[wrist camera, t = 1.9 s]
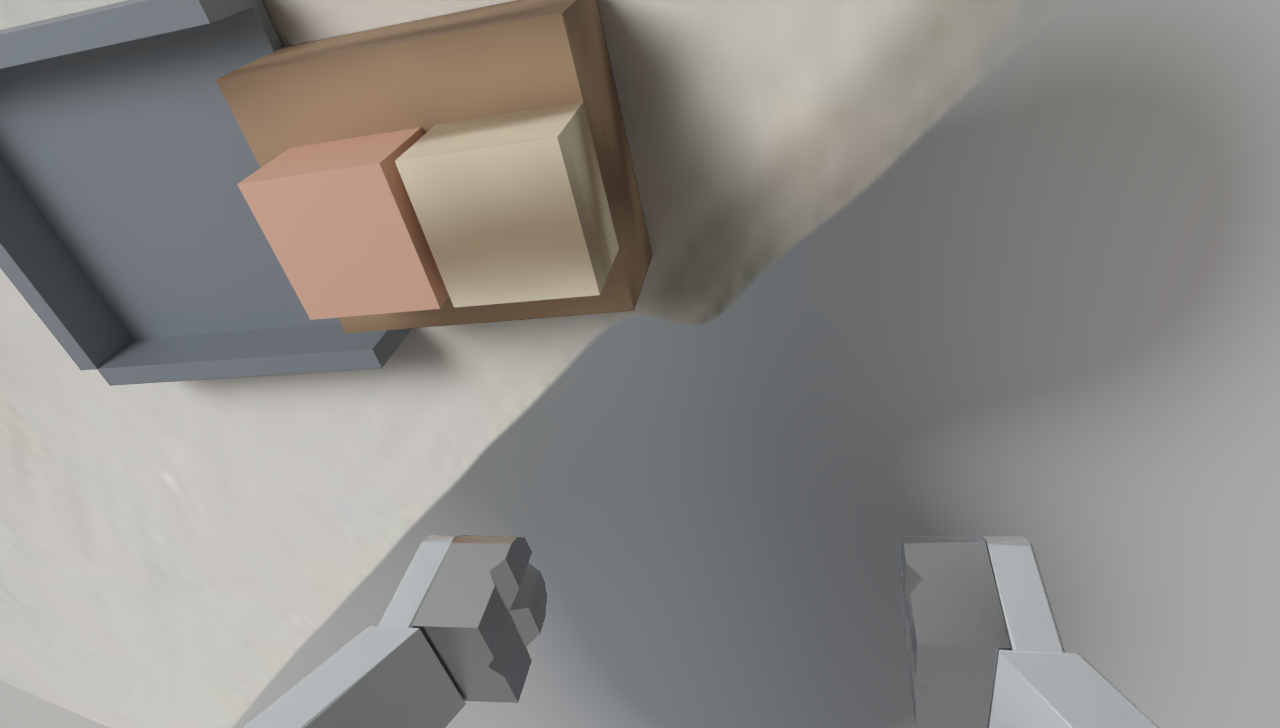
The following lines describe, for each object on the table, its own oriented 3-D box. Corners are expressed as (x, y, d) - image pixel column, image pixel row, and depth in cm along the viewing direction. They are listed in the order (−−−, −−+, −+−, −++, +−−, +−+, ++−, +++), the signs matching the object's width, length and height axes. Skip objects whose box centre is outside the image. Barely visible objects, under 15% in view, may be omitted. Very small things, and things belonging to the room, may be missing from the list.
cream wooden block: (435, 124, 24) (394, 161, 21) (583, 101, 22) (557, 137, 20) (485, 262, 27) (453, 307, 24) (619, 248, 25) (600, 294, 23)
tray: (-80, 49, 30) (-155, 70, 28) (249, -28, 26) (193, -11, 23) (137, 350, 38) (93, 386, 36) (410, 329, 34) (381, 367, 32)
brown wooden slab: (283, 47, 27) (215, 79, 24) (593, -15, 24) (561, 12, 21) (389, 282, 33) (345, 333, 30) (651, 256, 30) (634, 310, 27)
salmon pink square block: (290, 147, 25) (236, 184, 23) (421, 127, 24) (379, 163, 22) (351, 276, 28) (310, 320, 26) (472, 263, 27) (440, 308, 24)
